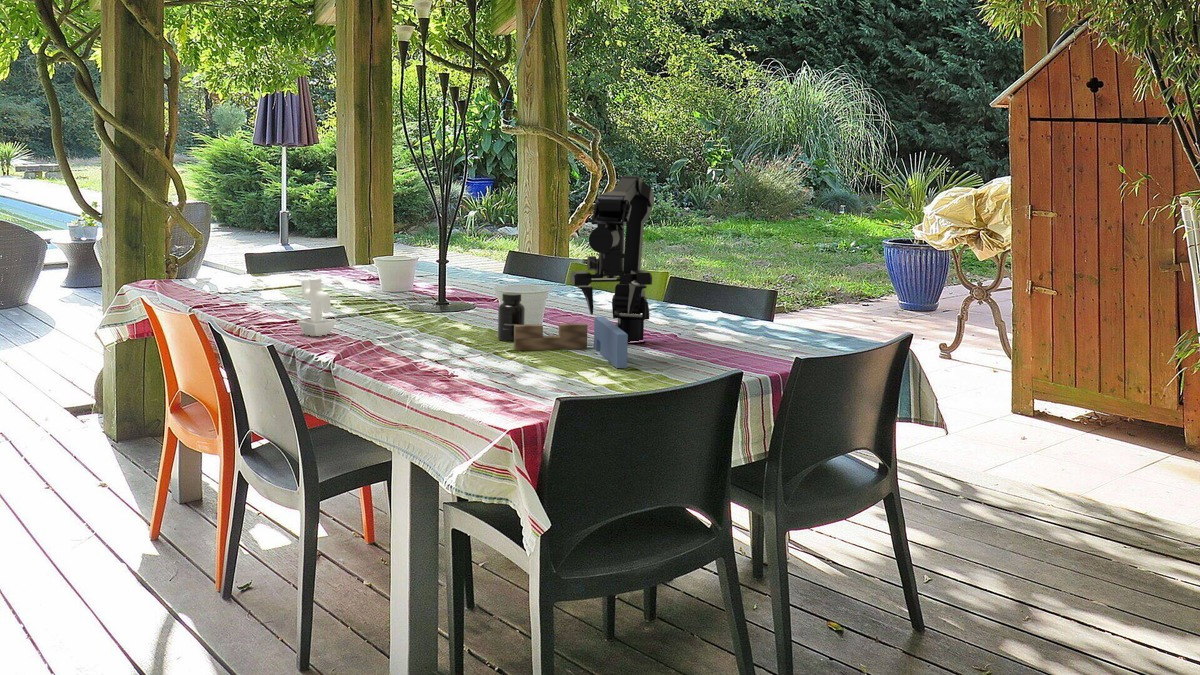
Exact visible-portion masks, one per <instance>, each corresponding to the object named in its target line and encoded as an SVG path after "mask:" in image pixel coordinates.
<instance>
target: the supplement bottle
mask: <svg viewBox="0 0 1200 675" xmlns="http://www.w3.org/2000/svg"><path fill="white" fill-rule="evenodd" d="M501 300H502V303H501V304H499V306H498V307H497V308H498V310H497V311H498V312H497V313H498V314H497V316H498V317H497V338H498V340H499V341H502V342H507V343H509V342H513V343H514V325H525V319H526V318H525V315H526V313H525V312H526V309H525V306H524V305H523V304H522V303H521V302H522V293H519V292H503V293H502V298H501Z"/></svg>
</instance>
